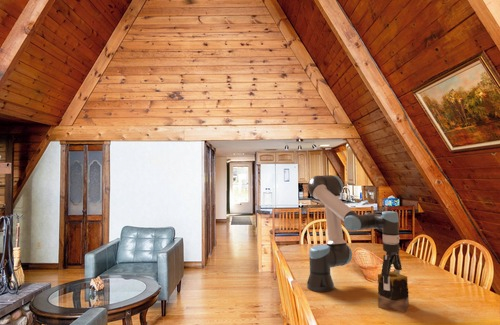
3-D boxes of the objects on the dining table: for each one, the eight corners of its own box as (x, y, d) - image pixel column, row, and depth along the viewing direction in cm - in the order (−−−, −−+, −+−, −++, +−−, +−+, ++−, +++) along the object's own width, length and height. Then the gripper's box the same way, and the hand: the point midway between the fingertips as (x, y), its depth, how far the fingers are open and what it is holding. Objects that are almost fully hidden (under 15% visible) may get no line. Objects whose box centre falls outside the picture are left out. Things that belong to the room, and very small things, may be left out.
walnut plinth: (378, 308, 160) (378, 297, 161) (383, 300, 171) (382, 290, 171) (405, 313, 154) (405, 302, 154) (408, 304, 164) (408, 294, 164)
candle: (393, 301, 156) (392, 279, 156) (377, 294, 165) (376, 274, 166) (409, 297, 160) (408, 276, 160) (393, 291, 169) (392, 271, 169)
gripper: (389, 248, 152) (390, 295, 151) (407, 240, 170) (408, 281, 169) (373, 246, 157) (374, 291, 157) (392, 238, 175) (393, 278, 175)
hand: (392, 286), depth 163 cm, fingers open, 13 cm apart
